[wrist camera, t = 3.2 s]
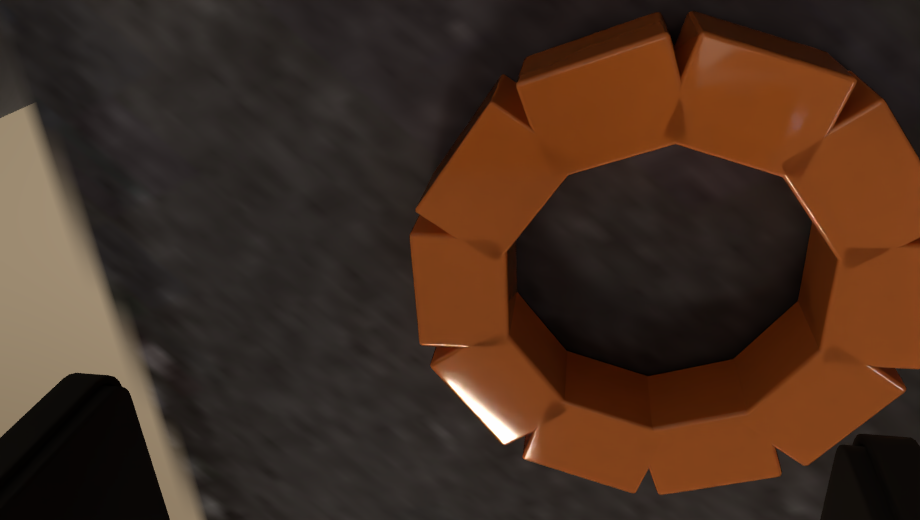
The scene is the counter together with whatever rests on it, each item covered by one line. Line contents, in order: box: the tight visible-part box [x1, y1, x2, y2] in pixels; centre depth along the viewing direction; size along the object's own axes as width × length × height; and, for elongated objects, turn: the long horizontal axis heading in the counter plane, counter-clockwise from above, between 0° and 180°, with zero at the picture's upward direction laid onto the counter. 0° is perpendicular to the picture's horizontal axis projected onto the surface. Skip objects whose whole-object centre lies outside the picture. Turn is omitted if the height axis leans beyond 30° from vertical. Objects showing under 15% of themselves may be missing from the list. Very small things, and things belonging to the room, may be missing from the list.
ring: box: [409, 11, 920, 495], centre depth 14 cm, size 9×10×2 cm
